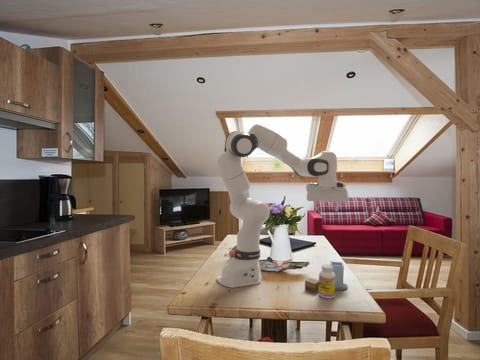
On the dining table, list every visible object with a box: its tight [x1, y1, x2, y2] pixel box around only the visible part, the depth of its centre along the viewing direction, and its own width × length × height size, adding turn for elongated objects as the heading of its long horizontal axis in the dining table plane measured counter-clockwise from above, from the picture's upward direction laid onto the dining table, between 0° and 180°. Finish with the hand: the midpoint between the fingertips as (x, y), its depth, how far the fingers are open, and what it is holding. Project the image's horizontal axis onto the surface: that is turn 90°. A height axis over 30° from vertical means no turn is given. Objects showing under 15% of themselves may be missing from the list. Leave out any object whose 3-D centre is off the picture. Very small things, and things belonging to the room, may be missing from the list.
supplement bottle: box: [318, 264, 336, 300], centre depth 129 cm, size 7×7×13 cm
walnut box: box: [304, 277, 319, 293], centre depth 136 cm, size 5×5×4 cm
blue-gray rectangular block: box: [329, 261, 345, 288], centre depth 140 cm, size 6×6×10 cm
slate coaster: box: [335, 282, 349, 292], centre depth 140 cm, size 10×10×1 cm
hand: (326, 210), depth 154 cm, fingers open, 8 cm apart
